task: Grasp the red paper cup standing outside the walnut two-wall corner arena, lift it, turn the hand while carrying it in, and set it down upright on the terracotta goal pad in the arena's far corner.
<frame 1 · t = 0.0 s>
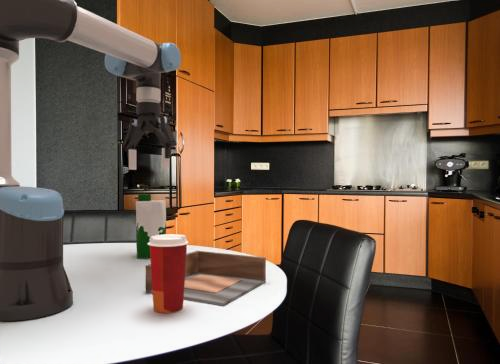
hand: (148, 169, 127), 28 cm above the table, fingers open, 13 cm apart
paper cup: (168, 309, 77), on the table
arena: (208, 287, 92), on the table
milk carton: (151, 256, 127), on the table
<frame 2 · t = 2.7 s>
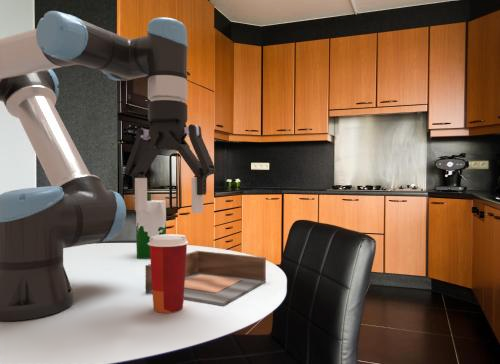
hand: (168, 211, 77), 19 cm above the table, fingers open, 13 cm apart
nothing on the table moved.
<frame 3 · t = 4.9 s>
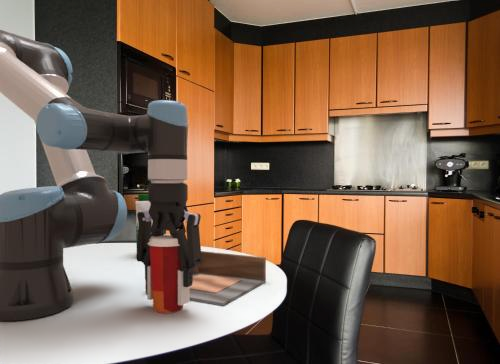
hand: (168, 300, 77), 2 cm above the table, fingers closed on paper cup, 7 cm apart
paper cup: (168, 309, 77), on the table, touching gripper
everything else where it was.
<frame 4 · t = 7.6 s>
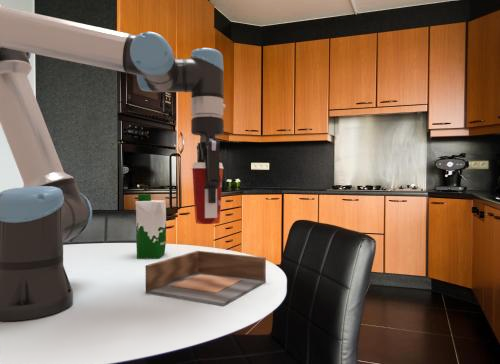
hand: (207, 216, 92), 16 cm above the table, fingers closed on paper cup, 7 cm apart
paper cup: (207, 223, 92), point 15 cm above the table, touching gripper
everything else where it was.
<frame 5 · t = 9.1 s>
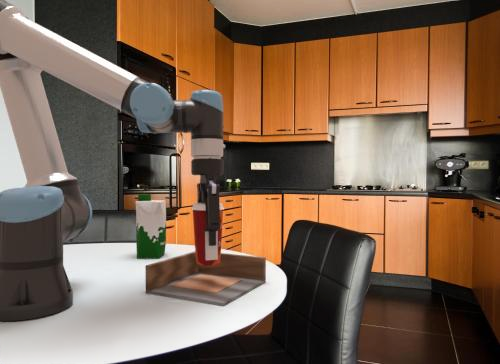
hand: (208, 256, 93), 7 cm above the table, fingers closed on paper cup, 7 cm apart
paper cup: (208, 263, 93), point 5 cm above the table, touching gripper
everything else where it was.
when the fingers open (3 cm above the table, at t = 10.3 s): paper cup stays where it is, resting on arena.
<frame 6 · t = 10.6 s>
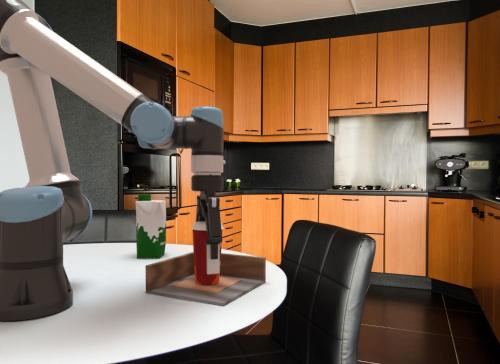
hand: (207, 267, 93), 4 cm above the table, fingers open, 11 cm apart
paper cup: (206, 283, 93), point 1 cm above the table, touching arena
everything else where it was.
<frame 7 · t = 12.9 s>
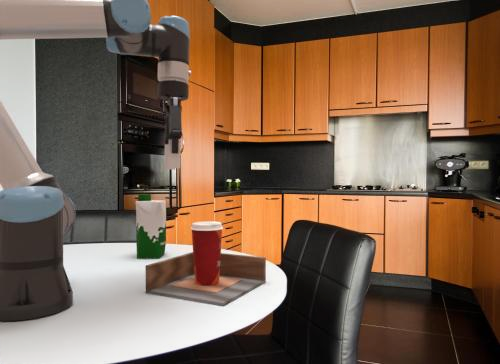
hand: (171, 169, 97), 28 cm above the table, fingers open, 13 cm apart
nothing on the table moved.
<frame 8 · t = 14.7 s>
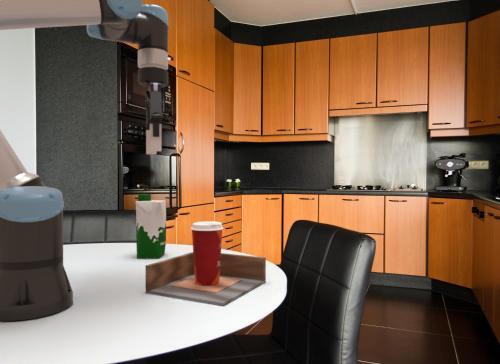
hand: (153, 153, 101), 32 cm above the table, fingers open, 13 cm apart
nothing on the table moved.
at the end: paper cup inside the target area on the arena (0.1 cm from its centre), point 0.6 cm above the arena's base; paper cup tilted 0°; the gripper is holding nothing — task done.
